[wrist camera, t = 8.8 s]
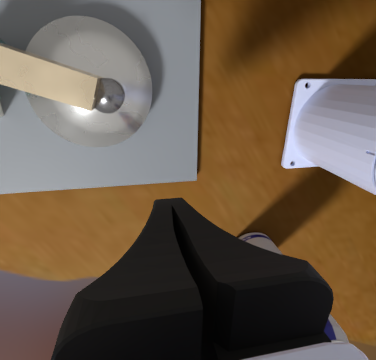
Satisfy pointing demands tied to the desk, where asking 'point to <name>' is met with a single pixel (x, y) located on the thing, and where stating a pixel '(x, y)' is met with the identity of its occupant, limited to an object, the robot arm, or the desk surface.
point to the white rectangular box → (1, 111)
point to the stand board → (144, 137)
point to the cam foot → (82, 80)
